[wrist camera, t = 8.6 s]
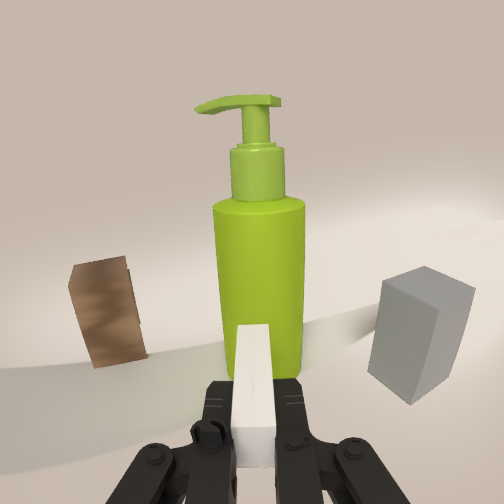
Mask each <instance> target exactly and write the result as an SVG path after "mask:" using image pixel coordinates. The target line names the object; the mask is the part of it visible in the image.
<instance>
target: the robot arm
mask: <svg viewBox="0 0 504 504" xmlns="http://www.w3.org/2000/svg"><path fill="white" fill-rule="evenodd" d="M190 432H191V436H192V439H193V443H191V444H189V445H187V446H184V447H179V448H173V449H170V448H169V447H168V446H166V445H164V444H159V443H152V444H148V445H146V446H144V447H143V448H142V449H141V450H140V451H139V452H138V454H137V455H136V457H135V459H134V460H133V462H132V463H131V465H130V466H129V468H128V469H127V471H126V472H125V474H124V476H123V477H122V479H121V480H120V482H119V483H118V485H117V487H116V488H115V490H114V491H113V493H112V494H111V496H110V497H109V499H108V501H107V502H106V504H182V502H183V500H184V498H185V496H186V499H185V504H236V498H237V497H236V496H237V476H236V465H237V468H239V467H240V468H249V467H275V487H276V502H277V504H324V501H323V495H322V490H327V492H328V494H329V496H330V498H331V500H332V502H333V504H410V502H409V501H408V499H407V498H406V496H405V495H404V493H403V492H402V491H401V489H400V488H399V486H398V485H397V483H396V482H395V480H394V479H393V478H392V476H391V474H390V473H389V472H388V470H387V469H386V467H385V466H384V464H383V463H382V461H381V460H380V458H379V457H378V455H377V454H376V452H375V451H374V449H373V448H372V447H371V445H370V444H369V443H368V442H367V441H366V440H363V439H361V438H354V437H352V438H346V439H344V440H343V441H341V442H340V443H339V444H334V443H326V442H322V441H320V440H318V439H316V438H315V437H314V436H313V435H312V434H311V433H310V431H309V426H308V421H307V415H306V409H305V404H304V398H303V392H302V387H301V384H300V383H299V382H298V381H297V380H296V378H286V379H273V377H272V364H271V352H270V339H269V327H268V324H256V325H238V330H237V344H236V358H235V371H234V381H213V382H212V383H211V384H210V386H209V387H208V388H207V391H206V397H205V403H204V409H203V416H202V420H199V421H197V422H196V423H195V424H194V425H193V426H192V428H191V430H190Z"/></svg>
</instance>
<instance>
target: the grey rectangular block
mask: <svg viewBox="0 0 504 504" xmlns="http://www.w3.org/2000/svg"><path fill="white" fill-rule="evenodd" d="M475 289H476V288H474V287H472V286H469V285H467V284H465V283H463V282H460V281H458V280H456V279H454V278H451V277H449V276H447V275H444V274H442V273H440V272H437V271H435V270H433V269H431V268H428V267H426V266H423V267H420V268H417V269H415V270H412V271H410V272H406V273H403V274H400V275H398V276H395V277H392V278H389V279H386V280H383V282H382V289H381V296H380V303H379V310H378V316H377V323H376V329H375V334H374V340H373V345H372V351H371V356H370V361H369V366H368V372H369V373H370V374H371V375H372V376H374V377H375V378H376V379H378V380H379V381H380V382H381V383H382V384H384V385H385V386H386V387H387V388H389V389H390V390H391V391H392V392H394V393H395V394H396V395H397V396H399V397H400V398H401V399H402V400H404V401H405V402H406V403H407V404H409V405H412V404H413V403H414V402H416V401H417V400H419V399H420V398H421V397H423V396H424V395H426V394H427V393H428V392H430V391H431V390H432V389H434V388H435V387H436V386H437V385H439V384H440V383H441V382H442V381H444V380H445V379H446V378H448V376H449V374H450V371H451V369H452V366H453V363H454V360H455V357H456V355H457V352H458V349H459V346H460V343H461V340H462V336H463V333H464V330H465V326H466V323H467V319H468V316H469V312H470V308H471V305H472V301H473V297H474V293H475Z"/></svg>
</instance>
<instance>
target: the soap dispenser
mask: <svg viewBox="0 0 504 504" xmlns="http://www.w3.org/2000/svg"><path fill="white" fill-rule="evenodd" d="M269 107H281V99H280V98H278V97H274V96H272V95H235V96H227V97H222V98H218V99H214V100H211V101H209V102H206V103H204V104H202V105H199V106H197V107H196V108H194V110H195V111H196V112H197V113H200V114H217V113H219V112H222V111H226V110H230V109H235V108H241V110H242V130H243V132H242V133H243V144H237V148H234V149H231V150H230V167H231V187H232V198H229V199H226V200H223V201H220V202H218V203H216V204H214V206H213V216H214V230H215V243H216V255H217V267H218V279H219V290H220V301H221V311H222V322H223V332H224V341H225V351H226V360H227V369H228V373H229V376H230V377H231V379H232V380H233V381H234V371H235V358H236V344H237V330H238V325H256V324H268V327H269V339H270V352H271V364H272V377H273V379H286V378H296V377H297V376H298V374H299V372H300V367H301V349H302V329H303V301H304V268H305V267H304V266H305V265H304V264H305V203H304V202H303V201H302V200H299V199H296V198H293V197H289V196H285V164H284V148H283V147H276V143H270V124H269Z"/></svg>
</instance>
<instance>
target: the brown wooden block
mask: <svg viewBox="0 0 504 504" xmlns="http://www.w3.org/2000/svg"><path fill="white" fill-rule="evenodd" d="M68 288H69V292H70V296H71V299H72V303H73V306H74V309H75V313H76V316H77V319H78V323H79V326H80V329H81V332H82V335H83V338H84V340H85V344H86V347H87V349H88V352H89V355H90V358H91V360H92V363H93V366H94V368H95V369H96V368H101V367H106V366H112V365H117V364H122V363H127V362H132V361H136V360H141V359H146V358H147V354H146V351H145V346H144V343H143V338H142V334H141V330H140V326H139V324H140V319H139V315H138V311H137V306H136V301H135V297H134V292H133V287H132V282H131V277H130V272H129V269H127V264H126V258H125V256H120V257H115V258H109V259H104V260H99V261H93V262H88V263H83V264H78V265H74V267H73V271H72V274H71V278H70V281H69V285H68Z"/></svg>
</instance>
